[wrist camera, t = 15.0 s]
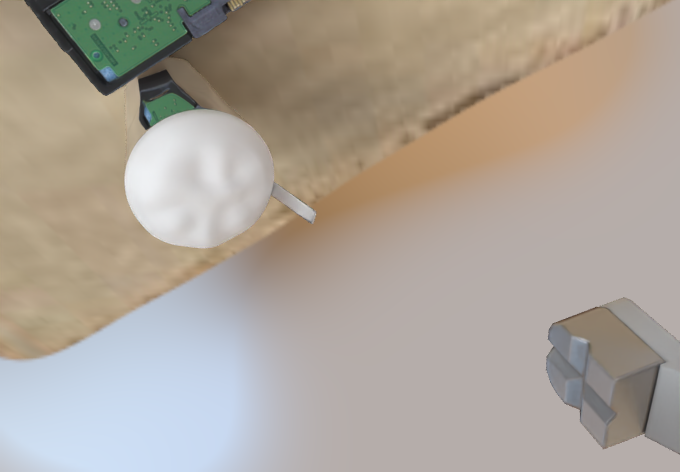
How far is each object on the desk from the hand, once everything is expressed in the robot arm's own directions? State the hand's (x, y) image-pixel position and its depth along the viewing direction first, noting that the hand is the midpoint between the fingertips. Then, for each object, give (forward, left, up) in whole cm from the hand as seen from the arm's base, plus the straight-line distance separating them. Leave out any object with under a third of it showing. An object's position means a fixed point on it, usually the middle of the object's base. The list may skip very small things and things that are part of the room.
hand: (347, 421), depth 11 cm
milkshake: (0, +1, -19) cm, 19 cm away
